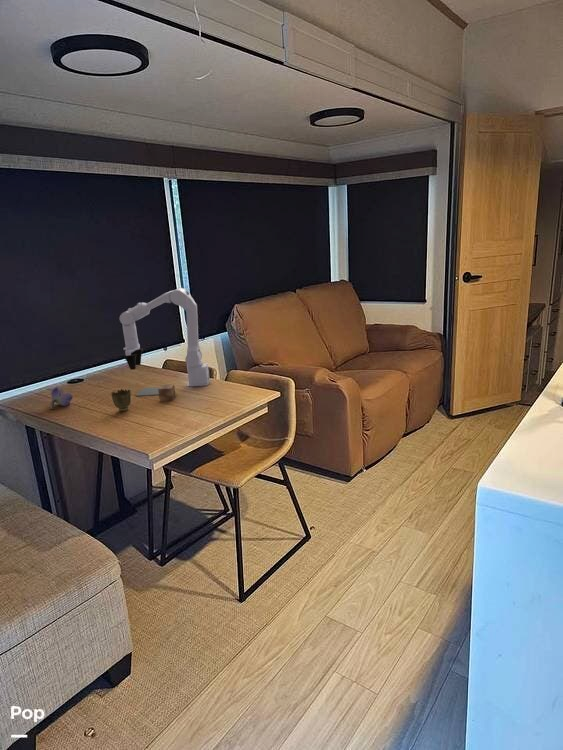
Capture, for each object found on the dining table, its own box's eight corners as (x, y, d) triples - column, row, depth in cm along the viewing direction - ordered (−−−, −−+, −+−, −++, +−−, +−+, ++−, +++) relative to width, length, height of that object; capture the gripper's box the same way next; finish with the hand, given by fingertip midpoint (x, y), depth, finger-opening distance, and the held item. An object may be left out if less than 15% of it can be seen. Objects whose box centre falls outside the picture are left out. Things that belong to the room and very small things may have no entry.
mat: (166, 387, 220) (166, 386, 220) (160, 395, 210) (160, 394, 210) (143, 388, 221) (143, 387, 220) (135, 396, 210) (135, 395, 210)
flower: (52, 397, 194) (62, 380, 202) (39, 404, 198) (50, 387, 205) (70, 411, 199) (79, 394, 207) (57, 417, 203) (67, 400, 210)
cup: (128, 406, 198) (125, 387, 196) (136, 409, 193) (133, 391, 191) (110, 411, 193) (107, 392, 191) (119, 415, 188) (116, 396, 186)
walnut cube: (175, 396, 207) (174, 384, 205) (172, 400, 202) (171, 388, 200) (163, 397, 207) (161, 385, 205) (159, 401, 202) (158, 389, 200)
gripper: (127, 335, 222) (132, 363, 226) (116, 342, 209) (121, 371, 212) (142, 334, 222) (146, 362, 226) (132, 341, 208) (137, 371, 212)
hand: (135, 367), depth 219 cm, fingers open, 7 cm apart
